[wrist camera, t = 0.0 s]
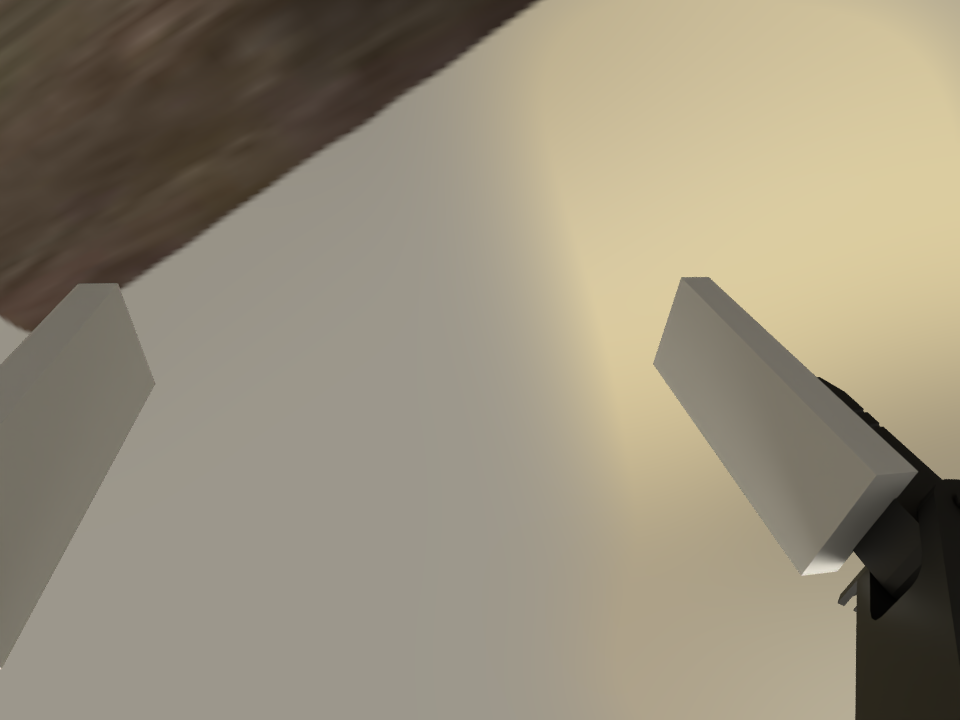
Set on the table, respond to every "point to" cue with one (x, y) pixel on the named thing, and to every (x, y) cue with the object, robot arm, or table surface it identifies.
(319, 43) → the table surface
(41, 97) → the table surface
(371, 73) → the table surface
